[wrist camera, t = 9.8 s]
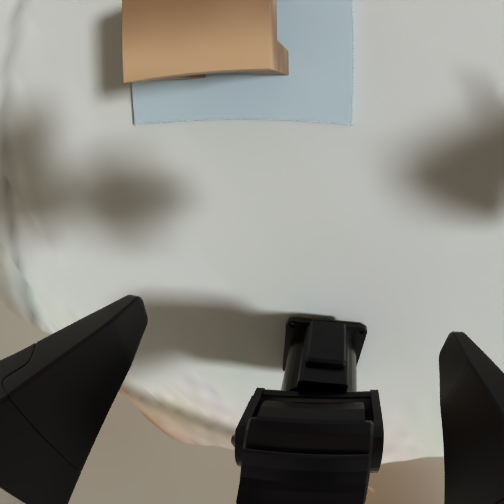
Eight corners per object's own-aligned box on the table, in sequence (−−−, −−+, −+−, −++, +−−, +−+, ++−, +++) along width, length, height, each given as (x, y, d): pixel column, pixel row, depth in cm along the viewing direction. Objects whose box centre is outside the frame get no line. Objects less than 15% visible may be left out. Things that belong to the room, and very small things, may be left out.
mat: (350, 124, 17) (351, 125, 17) (137, 124, 20) (134, 124, 19) (347, -53, 11) (348, -55, 11) (134, -29, 14) (131, -31, 13)
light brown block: (288, 75, 16) (270, 68, 10) (183, 80, 17) (123, 82, 12) (286, -23, 13) (266, -69, 7) (181, -11, 14) (124, -39, 8)
